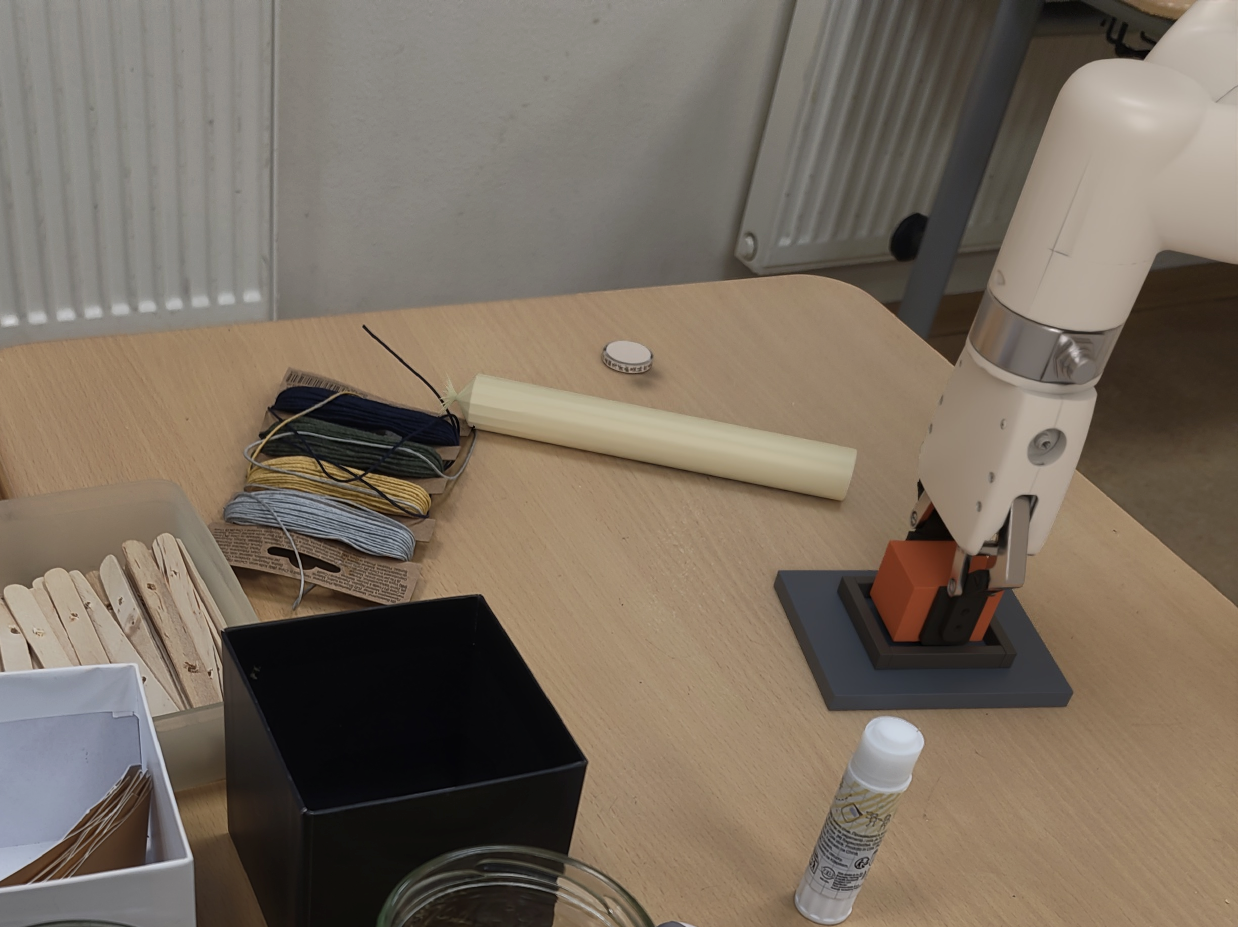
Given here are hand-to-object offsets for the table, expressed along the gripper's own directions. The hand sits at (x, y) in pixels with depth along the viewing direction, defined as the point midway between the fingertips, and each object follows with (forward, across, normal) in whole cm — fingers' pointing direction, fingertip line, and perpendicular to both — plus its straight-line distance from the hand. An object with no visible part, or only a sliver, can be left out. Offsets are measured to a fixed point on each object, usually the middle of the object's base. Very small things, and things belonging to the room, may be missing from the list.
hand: (928, 612), depth 93 cm
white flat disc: (+3, +36, +12) cm, 38 cm away
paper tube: (+3, +22, +14) cm, 26 cm away
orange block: (0, 0, 0) cm, 0 cm away
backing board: (+3, 0, 0) cm, 3 cm away
